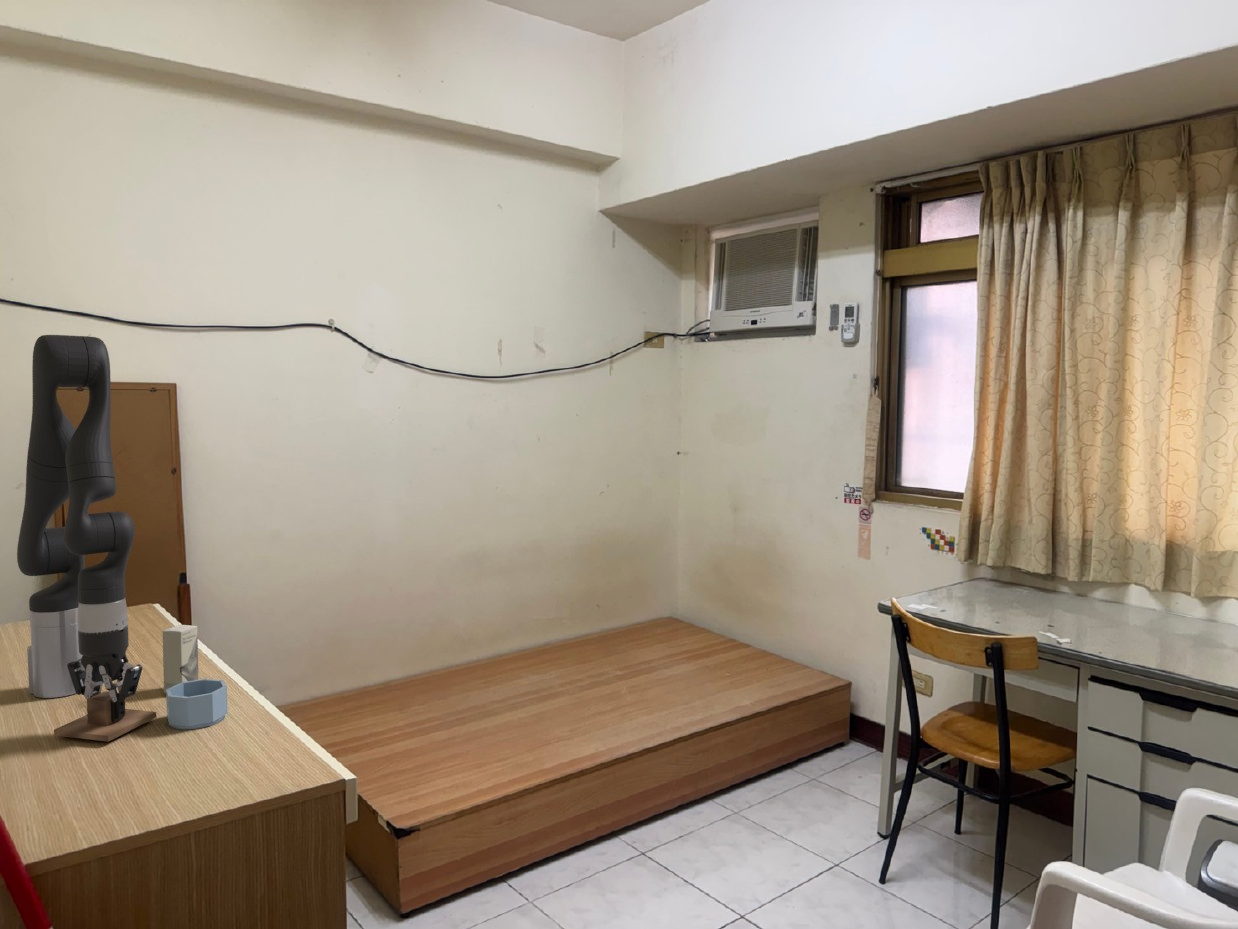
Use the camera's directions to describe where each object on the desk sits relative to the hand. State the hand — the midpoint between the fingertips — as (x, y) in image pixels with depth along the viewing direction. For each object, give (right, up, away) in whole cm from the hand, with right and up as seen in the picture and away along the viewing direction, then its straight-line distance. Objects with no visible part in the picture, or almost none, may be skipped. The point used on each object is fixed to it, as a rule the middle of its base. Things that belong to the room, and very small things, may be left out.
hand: (106, 718), depth 148 cm
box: (+2, -1, +21) cm, 21 cm away
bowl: (+13, -2, +5) cm, 15 cm away
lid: (0, -1, 0) cm, 1 cm away
